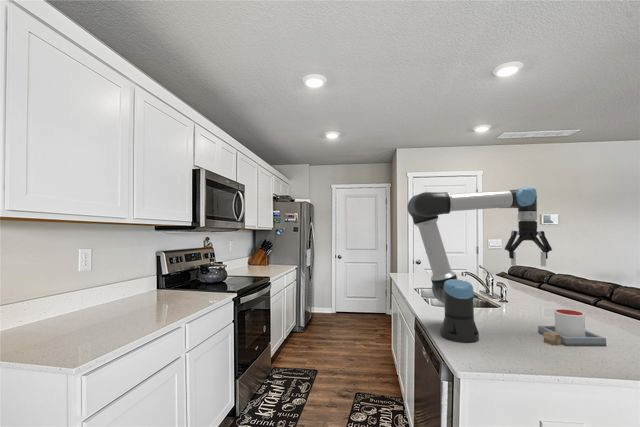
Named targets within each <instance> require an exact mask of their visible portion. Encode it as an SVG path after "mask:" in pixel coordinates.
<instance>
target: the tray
mask: <svg viewBox="0 0 640 427" xmlns="http://www.w3.org/2000/svg"><path fill="white" fill-rule="evenodd" d="M550 331H551V332H554V333H556V332H555V325H538V326H537V333H538V332H539V334H540V333H541V335H542V334H543V335H542V336H544V332H550ZM557 334H558V333H557ZM560 345H562V346H564V347H607V338H606V337H604V336H601V335H599V334H597V333H594V332H591V331H589V330H587V329H585V337H564V336H562V335H561V344H560Z"/></svg>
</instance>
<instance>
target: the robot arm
mask: <svg viewBox="0 0 640 427" xmlns="http://www.w3.org/2000/svg"><path fill="white" fill-rule="evenodd" d="M537 194H538V193H537V189H536V188H535V187H522V188H518V189H510V190H509V189H504V190H490V191H477V192H464V193H449V192H447V191H445V192H437V191H436V192H432V191H425V192H420V193H419V194H418V193H417V194H416V195H413V197H411V198H410V199H409V201H408V203H407V205H406V206H407V212H408V213H409V216H411V217H412V218H411V219H412V223H413V225H414V226H416V227H417V228H418V230H419V233H420V237H421V240H422V243H423V247H424V249H425V253H426V257H427V260H428V263H429V266H430V269H431V273H432V275H431V277H430V281H431V284H432V285H431V292H432V294H433V296H434V297H435V299H436V300H438V302H441V303H442V304H443V305H444V306H443V307H444V317H443V318H444V319H443V322H442V324H441V327H440V336H442V337H443V338H444V339H446V340H449V341H454V342H459V343H474V342H478V341H479V339H480V333H479V330H478V328H477V324H476V322H475V321H476V320H475V318H474V317H475V316H474V315H475V312H474V311H475V310H474V308H475V304H474V298H475V296H474V294H475V292H474V287H473V285H472V283H471V282H469V281H467V280H462V279H458V276H457V274H456V272H455V271H452V268H451V265H450V262H449V258H448V256H447V253H446V250H445V249H446V248H445V246H444V242H443V239H442V236H441V234H440V229H439V226H438V223H437V221H438V220H439V215H449V214H451V212H458V211H459V212H460V211H475V210H476V211H477V210H487V209H488V210H489V209H490V210H491V209H517V220H518V221H517V222H518V224H517V226H518V230H511V234H510V237H509V239H508V241H507V242H506V245H505V246H504V250H505V251H507V252H508V256H509V257H508V258H509V259H510V266H512V267H516V266H517V259H516V257H517V252H516V251H515V250H517V248H518V247H519V246H520V245H521V244H522V243H523V242H525V241H531V242H534V243H535V245H536V246H537V247H538V248H539V249H540V250H541V251H540V266H541V267H547V260H548V257H549V256H548V253H549V252H552V251H553V248H552V247H551V245H550V243H549V240H548V239H547V238H546V234H545V231H544V230H539V231H538V221H537V220H538V210H537V209H538V206H537V205H538V202H537V201H538V196H537ZM517 236H518V237H517ZM537 236H539V238H538V237H537Z"/></svg>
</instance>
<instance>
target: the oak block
mask: <svg viewBox="0 0 640 427" xmlns="http://www.w3.org/2000/svg"><path fill="white" fill-rule="evenodd" d="M545 342H546V343H545ZM543 343H545V344H547V343H548V345H550V344H551V346H553V345H555V346H559V345H562V344H561V334H557V333H554V332H551V331H550V332H544V335H543Z"/></svg>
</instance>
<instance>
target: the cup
mask: <svg viewBox="0 0 640 427" xmlns="http://www.w3.org/2000/svg"><path fill="white" fill-rule="evenodd" d="M585 318H586V317H585V313H584V312H581V311H578V310H571V309H563V308H562V309H560V308H558V309H555V310H554V326H555V332H556V333H558V334H561V335H562V336H564V337H585V330H586V321H585V320H586V319H585Z"/></svg>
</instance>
